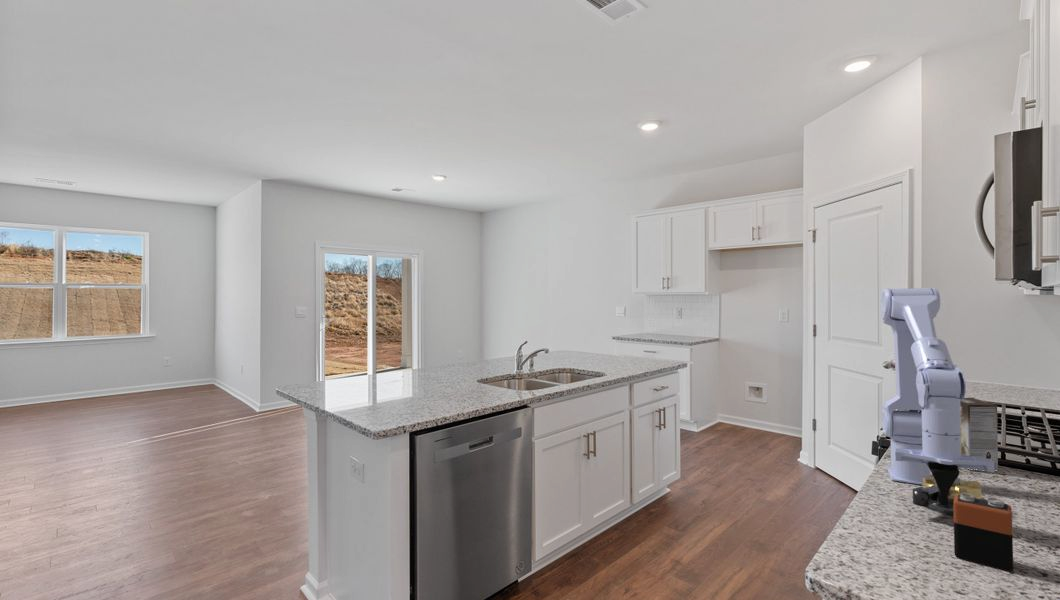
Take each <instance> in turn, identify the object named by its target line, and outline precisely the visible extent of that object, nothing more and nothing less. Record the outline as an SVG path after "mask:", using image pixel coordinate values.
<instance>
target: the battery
mask: <svg viewBox="0 0 1060 600" xmlns="http://www.w3.org/2000/svg"><path fill="white" fill-rule="evenodd" d="M984 499H985V498H984ZM984 499H978V498H973V496H972V495H970V494H965V493H962V494H961V495H955V497H954V503H953V508H954V516H953V542H954V543H953V546H954V553H953V554H954V556H955V557H956V558H957V559H958V558H959V559H961V560H965V561H969V562H973V563H977V564H980V565H984V566H988V567H992V568H995V569H999V570H1003V571H1007V572H1012V571H1014V547H1013V546H1014V545H1013V543H1014V540H1013V536H1014V535H1013V534H1014V533H1013V510H1012V507H1011V505H1010V504H1009V503H1005V500H1004V499H1000V498H997V497H990V496H989V497H987V499H986V500H984Z"/></svg>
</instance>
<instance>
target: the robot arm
mask: <svg viewBox="0 0 1060 600" xmlns="http://www.w3.org/2000/svg"><path fill="white" fill-rule="evenodd" d="M880 303H881V305H880V307H881V319H882V323H883V324H885V325H887V326H890V328H891V329H892V334H893V348H894V369H895V371H894V372H895V373H894V374H895V389H896V390H895V393H896V394H895V396H894V397H892V398H890V399H888V400H887V401H884V403H883V405H882V413H881V427H882V428H881V429H882V431H883V434H884V435H885V436H886V437H889V439H890V466H887V467H886V469H887V471H888V472H887V473H888V475H889V478H890V480H891V481H894V482H899V483H900V482H901V483H908V484H915V485H922V486H923V480H922V479H923V477H928V476H933V477H934V479H935V481H936V484H937V486H938V489H939V493H938V498H939V502H940V504H941V505H946V506H948V493H949V490H950V488H951V486H952V484H953V483H954V481H955V480H956V479H957V478H959V475H960V469H959V468H961V469H962V468H963V469H965V468H969V469H977V470H985V471H984V472H986V473H987V472H988V473H996V472H995V466H994V461H993V460H992V459H986V458H979V457H973V456H967V455H962V453H961V412H960V400H962V399H964V398H966V397H965V396H966V390H967V384H966V379H965V376H964V373H963V371H962V369H961V368H959V367H958V365H957V364H953V361H952V358H951V355H950V353H949V349H948V347H947V343H946V342H945V341H944V340H942V339H939V338H937V333H936V328H935V322H934V318H937V315H938V313H939V311H940V309H941V296H940V292H939V291H938V289H937V288H935V287H934V286H933V287H921V288H919V287H915V288H888V287H887V288H884V290H883V291H882V293H881V300H880ZM958 399H960V400H958ZM908 410H909V411H908ZM931 474H932V475H931Z"/></svg>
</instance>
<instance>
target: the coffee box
mask: <svg viewBox="0 0 1060 600" xmlns="http://www.w3.org/2000/svg"><path fill="white" fill-rule="evenodd" d="M958 400H960V399H958ZM960 412H961V453H962V455H967V456H973V457H979V458H986V459H992V460H993V461H994V466H995V470H997V471H998V472H999V463H998V462H999V460H998V459H999V458H998V455H999V451H998V450H999V449H998V446H999V443H998V441H999V440H998V438H999V437H998V405H996V404H994V403H991V402H987V401H985V400H981V399H978V398H975V397H964V399H962V400H960ZM967 469H969V468H967ZM967 469H966V470H967ZM970 470H971V469H970ZM972 470H974V469H972ZM975 470H976V469H975Z"/></svg>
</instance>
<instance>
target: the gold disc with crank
mask: <svg viewBox="0 0 1060 600" xmlns="http://www.w3.org/2000/svg"><path fill="white" fill-rule="evenodd" d="M922 480H923V485H922V487H923V489H915V488H912V504H914V505H915V506H917V507H922V508H926V507H928V506H929V505H931V504H934V503H936V502H939V498H938V493H939V489H938V486H937V484H936V481H935V479H934V477H933V475H931V476H928V477H923V479H922ZM962 493H965V494H970V495H972V496H973V498H978V499H982V498H983V496H982V488H981V482H979V481H976V480H968V481H967V480H964V479H960V478H959V477H957V479H956V480H955V481H954V483H953V484H952V486H951V488H950V490H949V493H948V503H950V504H953V503H954V497H955V495H961V494H962Z"/></svg>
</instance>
